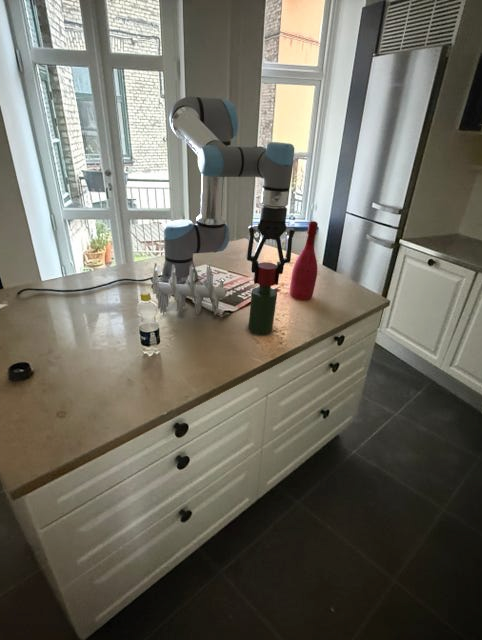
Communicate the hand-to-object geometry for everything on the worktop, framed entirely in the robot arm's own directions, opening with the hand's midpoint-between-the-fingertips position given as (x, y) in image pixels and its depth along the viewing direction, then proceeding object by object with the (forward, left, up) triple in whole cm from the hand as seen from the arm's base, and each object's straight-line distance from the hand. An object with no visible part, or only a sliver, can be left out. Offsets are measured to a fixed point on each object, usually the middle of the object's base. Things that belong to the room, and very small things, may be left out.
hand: (265, 282), depth 118 cm
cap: (0, 0, 0) cm, 0 cm away
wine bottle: (+19, +29, -17) cm, 39 cm away
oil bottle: (0, 0, -17) cm, 17 cm away
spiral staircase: (-25, +10, -17) cm, 32 cm away
